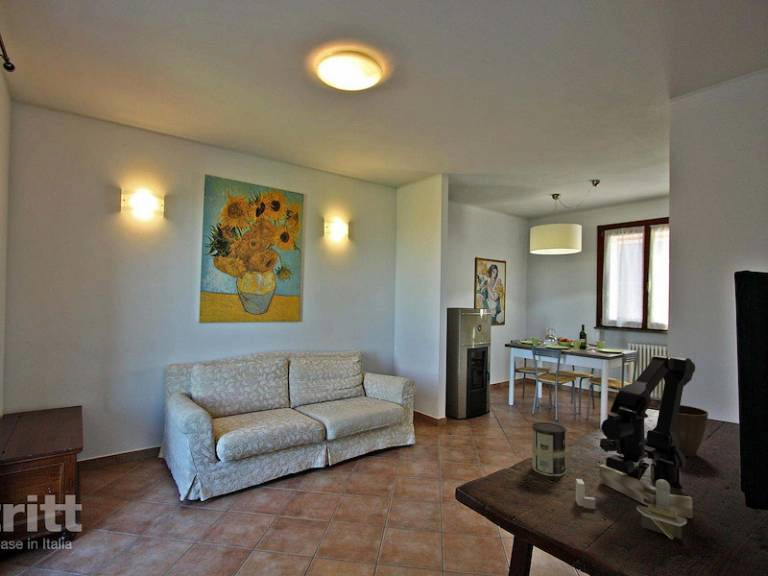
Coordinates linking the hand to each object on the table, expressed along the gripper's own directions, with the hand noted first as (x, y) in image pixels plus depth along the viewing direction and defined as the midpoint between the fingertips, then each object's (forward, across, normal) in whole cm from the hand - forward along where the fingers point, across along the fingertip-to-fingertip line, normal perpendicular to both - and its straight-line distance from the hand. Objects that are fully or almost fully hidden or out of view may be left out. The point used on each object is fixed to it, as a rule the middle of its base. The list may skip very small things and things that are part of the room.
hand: (633, 487), depth 116 cm
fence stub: (+1, +2, +13) cm, 13 cm away
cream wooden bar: (+1, +3, 0) cm, 4 cm away
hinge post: (+1, +5, +10) cm, 11 cm away
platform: (+2, +16, +14) cm, 21 cm away
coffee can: (+2, +8, -23) cm, 24 cm away
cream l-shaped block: (+1, +19, -3) cm, 19 cm away
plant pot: (+3, -49, -7) cm, 49 cm away
